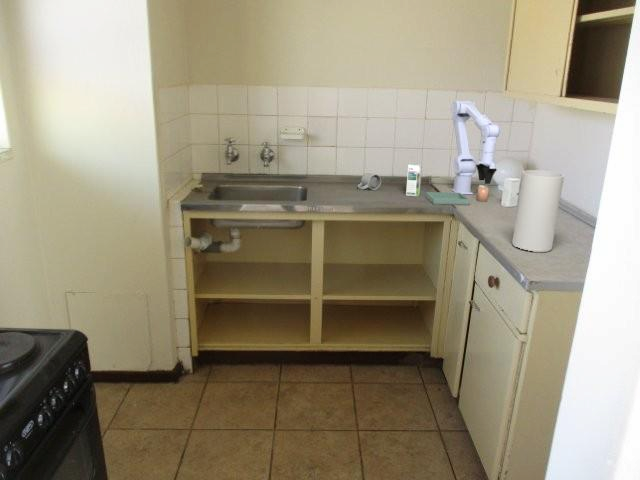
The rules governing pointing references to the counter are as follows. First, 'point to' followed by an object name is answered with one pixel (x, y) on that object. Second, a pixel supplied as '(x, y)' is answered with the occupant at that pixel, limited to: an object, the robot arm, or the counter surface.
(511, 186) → the skincare box
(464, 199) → the tray
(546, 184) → the cylinder vase
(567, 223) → the counter surface
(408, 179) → the syrup box
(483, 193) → the salt shaker
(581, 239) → the counter surface
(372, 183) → the ceramic mug
